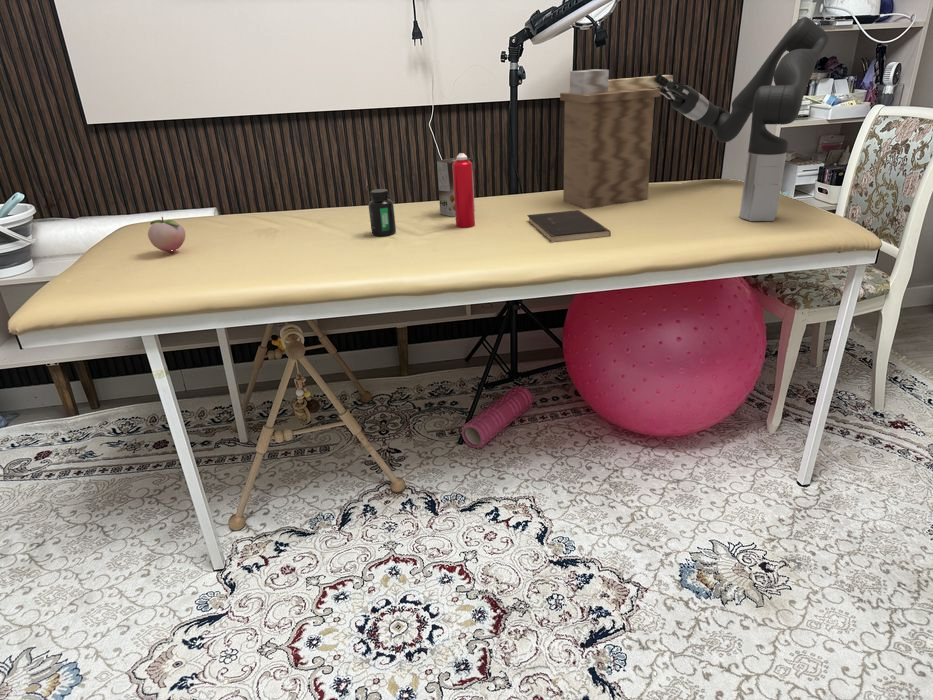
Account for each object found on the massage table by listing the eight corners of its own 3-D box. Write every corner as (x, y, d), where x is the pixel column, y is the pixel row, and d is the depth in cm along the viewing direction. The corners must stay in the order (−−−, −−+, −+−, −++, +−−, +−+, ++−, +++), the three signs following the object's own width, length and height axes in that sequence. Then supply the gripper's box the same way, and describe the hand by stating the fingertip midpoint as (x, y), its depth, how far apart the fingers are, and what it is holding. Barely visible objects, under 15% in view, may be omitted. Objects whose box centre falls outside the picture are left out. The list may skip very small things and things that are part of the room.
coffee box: (452, 217, 190) (449, 162, 183) (439, 214, 195) (435, 160, 188) (475, 211, 195) (473, 158, 188) (462, 208, 200) (459, 156, 193)
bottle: (474, 222, 183) (470, 151, 175) (475, 227, 179) (472, 154, 170) (455, 223, 183) (451, 152, 175) (456, 228, 178) (452, 155, 170)
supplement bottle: (391, 237, 174) (387, 193, 169) (368, 236, 175) (363, 193, 170) (399, 230, 180) (394, 187, 175) (376, 230, 181) (371, 188, 176)
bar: (661, 85, 195) (662, 64, 193) (677, 86, 188) (679, 64, 186) (569, 93, 186) (570, 71, 183) (583, 94, 179) (584, 71, 176)
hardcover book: (551, 244, 161) (551, 235, 160) (527, 222, 182) (527, 214, 181) (610, 238, 164) (610, 229, 163) (580, 217, 184) (580, 209, 183)
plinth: (623, 190, 210) (628, 87, 196) (652, 199, 196) (660, 89, 182) (559, 199, 203) (560, 93, 189) (584, 210, 189) (587, 95, 175)
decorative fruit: (146, 258, 168) (135, 221, 164) (163, 249, 176) (153, 213, 171) (178, 257, 167) (168, 220, 163) (194, 248, 174) (185, 212, 170)
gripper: (681, 90, 202) (643, 64, 194) (711, 92, 190) (672, 64, 182) (669, 113, 204) (632, 88, 196) (699, 116, 192) (660, 89, 184)
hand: (652, 77), depth 189 cm, fingers open, 4 cm apart
